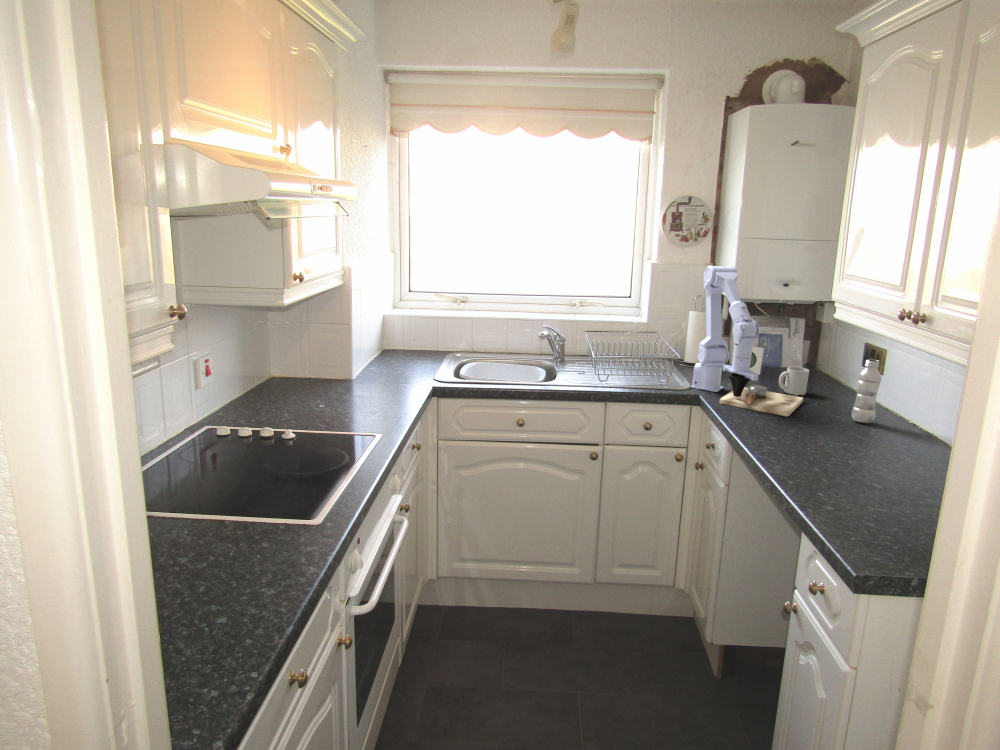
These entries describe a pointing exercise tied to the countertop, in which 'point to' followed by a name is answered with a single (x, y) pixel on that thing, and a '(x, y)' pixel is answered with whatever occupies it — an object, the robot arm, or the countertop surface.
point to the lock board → (765, 402)
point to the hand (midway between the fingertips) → (737, 396)
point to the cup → (794, 380)
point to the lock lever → (755, 393)
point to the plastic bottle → (867, 392)
